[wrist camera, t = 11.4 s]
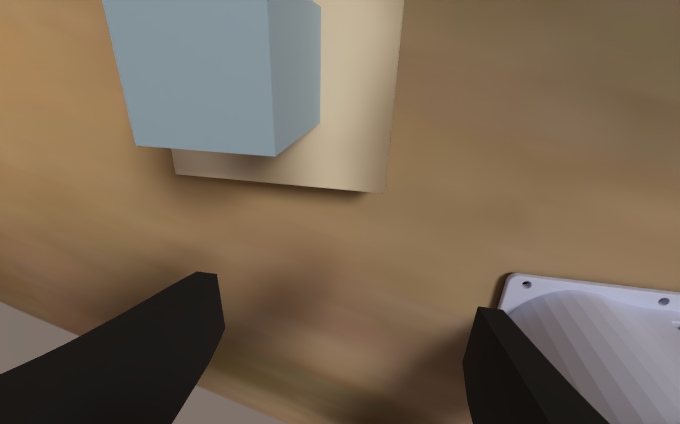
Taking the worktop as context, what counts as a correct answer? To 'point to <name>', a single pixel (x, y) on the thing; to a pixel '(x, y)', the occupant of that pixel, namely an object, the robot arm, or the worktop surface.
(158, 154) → the worktop surface
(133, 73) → the blue block
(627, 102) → the worktop surface
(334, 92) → the birch base
